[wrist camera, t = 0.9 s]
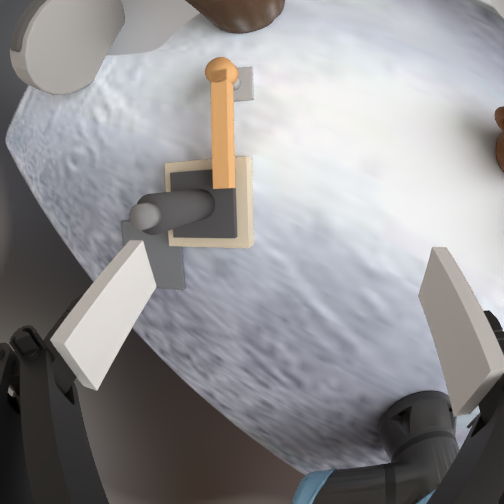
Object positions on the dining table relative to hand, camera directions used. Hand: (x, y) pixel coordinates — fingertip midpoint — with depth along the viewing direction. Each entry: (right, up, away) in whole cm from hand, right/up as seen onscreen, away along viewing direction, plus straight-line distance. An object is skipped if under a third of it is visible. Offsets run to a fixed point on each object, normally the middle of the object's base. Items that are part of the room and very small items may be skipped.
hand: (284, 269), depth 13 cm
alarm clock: (-31, +40, +29) cm, 58 cm away
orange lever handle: (-5, +17, +23) cm, 28 cm away
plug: (-7, +8, +30) cm, 32 cm away
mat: (-18, +1, +35) cm, 39 cm away
